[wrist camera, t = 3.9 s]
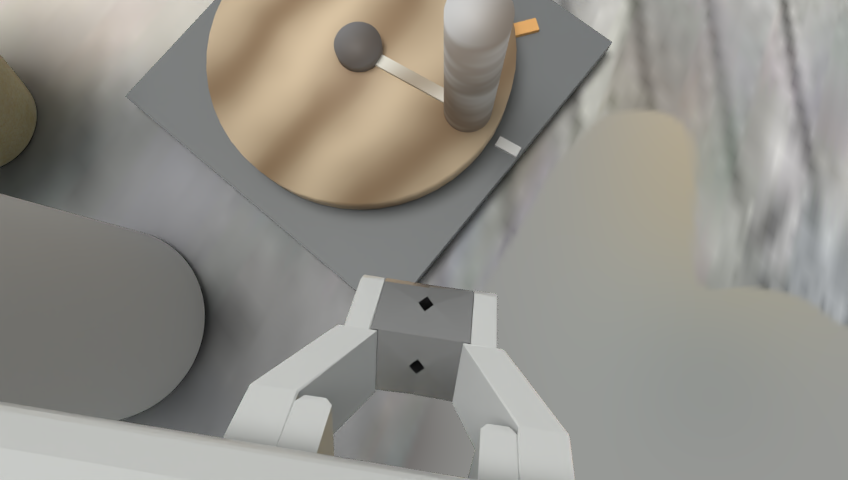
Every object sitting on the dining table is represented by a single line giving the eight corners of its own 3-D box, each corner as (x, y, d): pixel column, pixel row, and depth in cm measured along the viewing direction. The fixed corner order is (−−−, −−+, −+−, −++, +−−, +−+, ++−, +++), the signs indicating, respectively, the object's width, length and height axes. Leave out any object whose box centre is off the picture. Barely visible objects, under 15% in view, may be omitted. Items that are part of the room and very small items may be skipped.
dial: (163, 117, 34) (11, 9, 22) (320, -110, 36) (260, -320, 24) (414, 266, 32) (396, 236, 20) (565, 14, 34) (632, -149, 22)
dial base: (351, -125, 38) (346, -147, 37) (605, 53, 35) (613, 39, 33) (138, 105, 36) (122, 94, 34) (389, 316, 33) (386, 316, 31)
